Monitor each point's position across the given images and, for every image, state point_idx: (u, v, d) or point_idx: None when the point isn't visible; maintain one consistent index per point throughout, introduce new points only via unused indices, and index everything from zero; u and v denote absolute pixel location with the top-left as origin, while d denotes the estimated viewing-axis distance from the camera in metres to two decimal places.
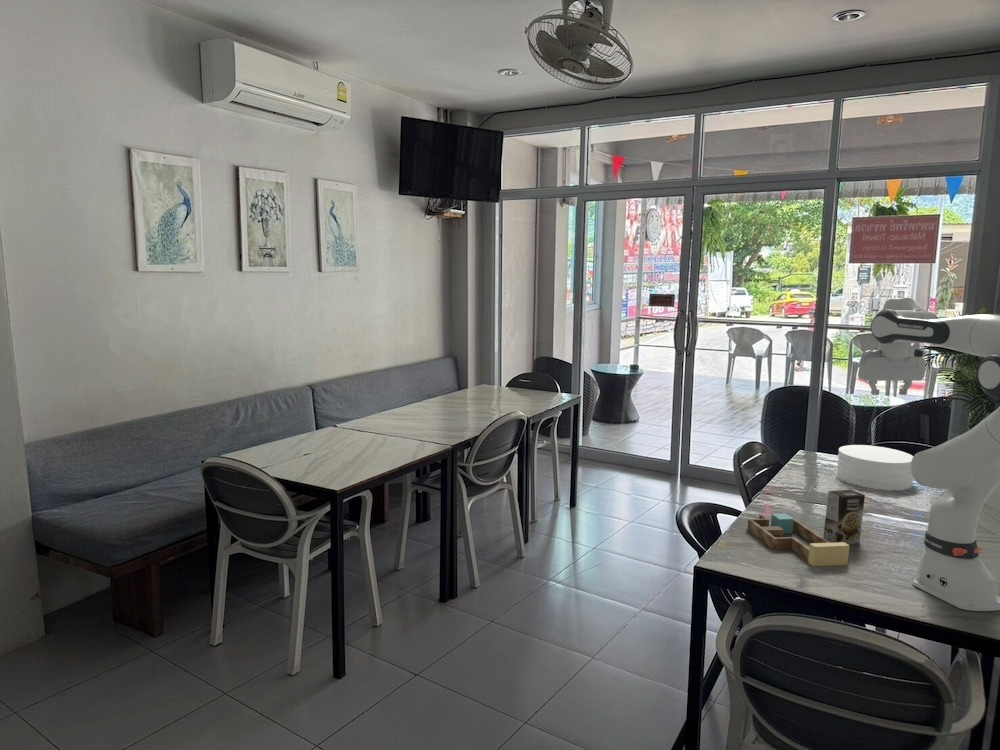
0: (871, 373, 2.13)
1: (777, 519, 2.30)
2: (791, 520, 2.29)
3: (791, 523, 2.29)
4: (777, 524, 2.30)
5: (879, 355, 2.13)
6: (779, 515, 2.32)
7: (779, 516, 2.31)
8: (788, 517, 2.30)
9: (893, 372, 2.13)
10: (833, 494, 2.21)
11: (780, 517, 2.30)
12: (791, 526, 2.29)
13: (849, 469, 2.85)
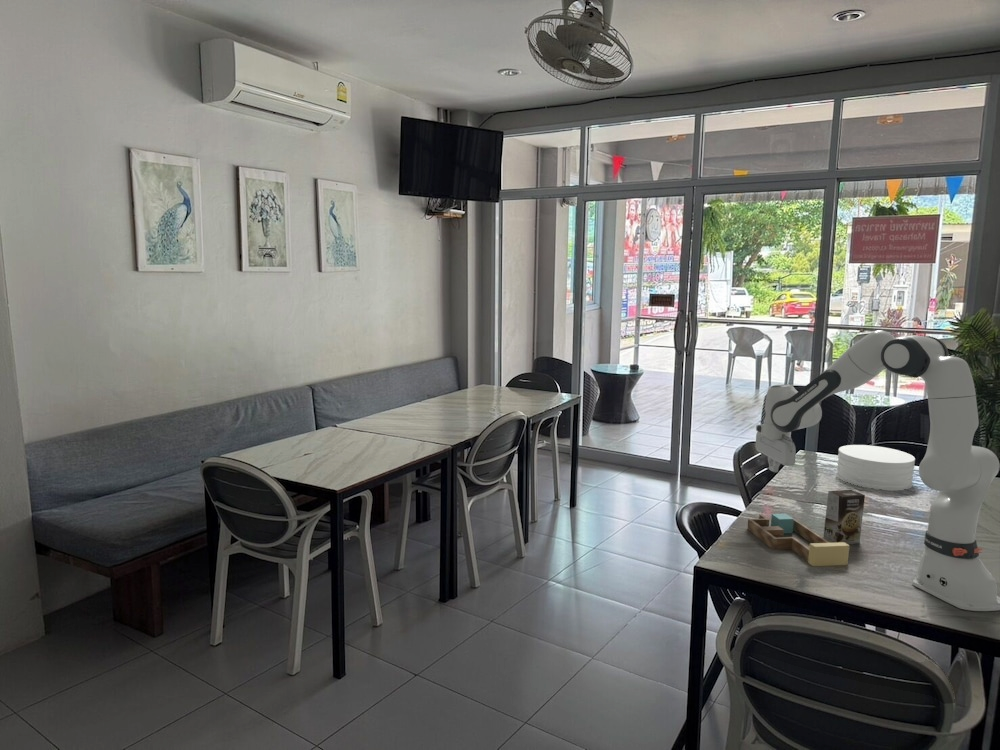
0: None
1: (777, 519, 2.30)
2: (791, 520, 2.29)
3: (791, 523, 2.29)
4: (777, 524, 2.30)
5: None
6: (779, 515, 2.32)
7: (779, 516, 2.31)
8: (788, 517, 2.30)
9: None
10: (833, 494, 2.21)
11: (780, 517, 2.30)
12: (791, 526, 2.29)
13: (849, 469, 2.85)
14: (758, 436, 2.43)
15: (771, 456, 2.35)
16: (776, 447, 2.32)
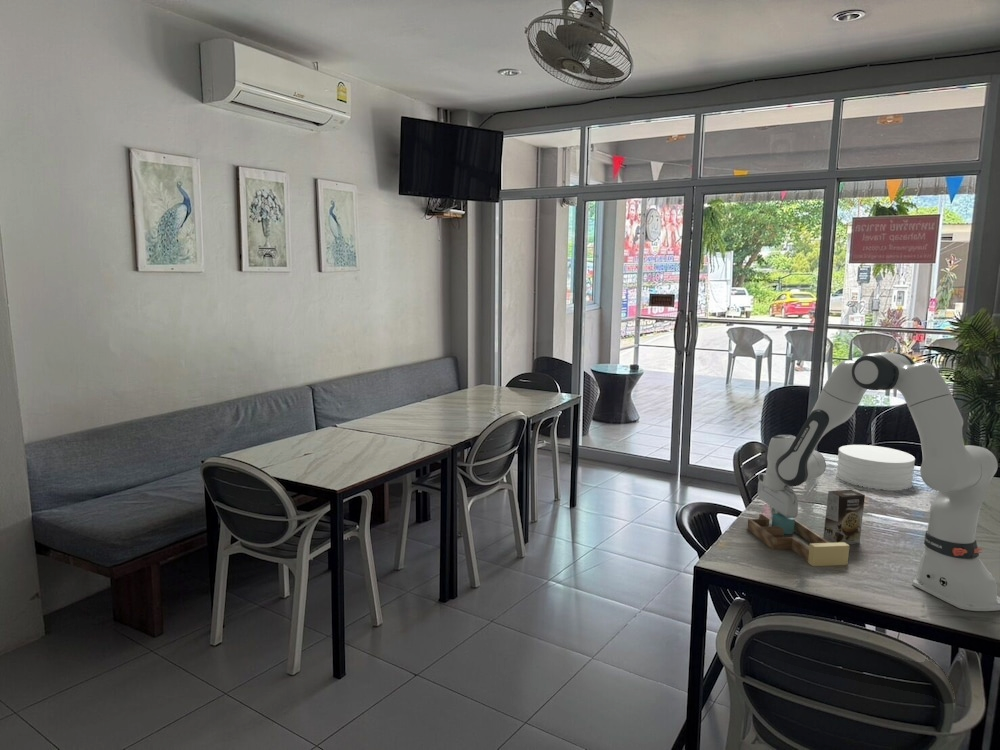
0: None
1: (778, 519, 2.29)
2: (792, 520, 2.28)
3: (792, 523, 2.28)
4: (778, 524, 2.29)
5: None
6: (780, 515, 2.31)
7: (780, 516, 2.31)
8: None
9: None
10: (833, 494, 2.21)
11: (781, 518, 2.29)
12: (792, 526, 2.29)
13: (849, 469, 2.85)
14: (760, 484, 2.42)
15: (773, 506, 2.34)
16: (778, 497, 2.31)
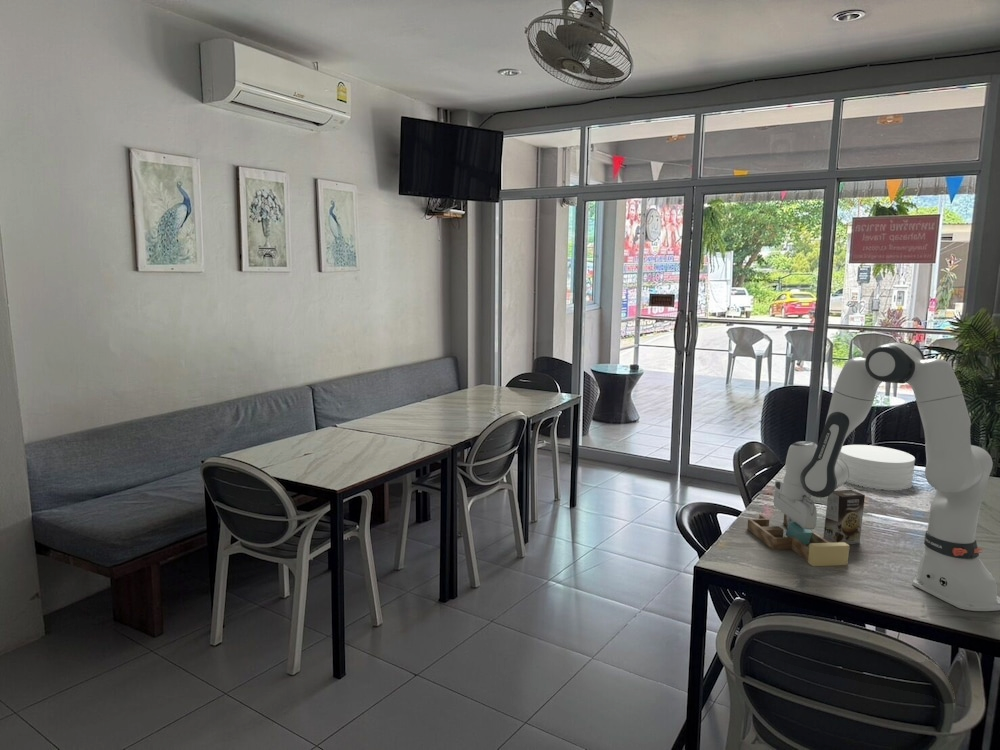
0: None
1: (795, 531, 2.18)
2: (809, 533, 2.18)
3: (809, 536, 2.18)
4: (794, 536, 2.19)
5: None
6: (797, 525, 2.20)
7: (797, 526, 2.20)
8: (807, 529, 2.19)
9: None
10: (833, 494, 2.21)
11: (798, 530, 2.18)
12: (808, 539, 2.19)
13: (849, 469, 2.85)
14: (776, 492, 2.30)
15: (790, 516, 2.23)
16: (795, 507, 2.20)
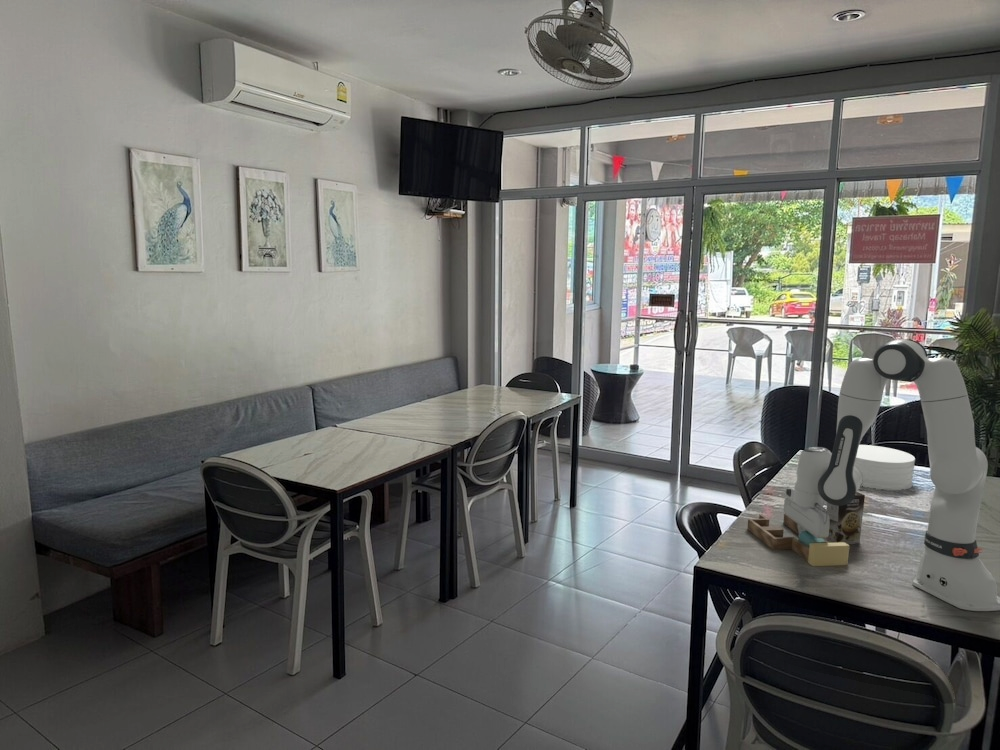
0: None
1: (807, 541, 2.11)
2: None
3: None
4: (806, 545, 2.12)
5: None
6: (809, 534, 2.13)
7: (809, 535, 2.13)
8: (819, 538, 2.12)
9: None
10: None
11: (810, 539, 2.11)
12: None
13: None
14: (787, 500, 2.23)
15: (801, 524, 2.16)
16: (807, 515, 2.13)
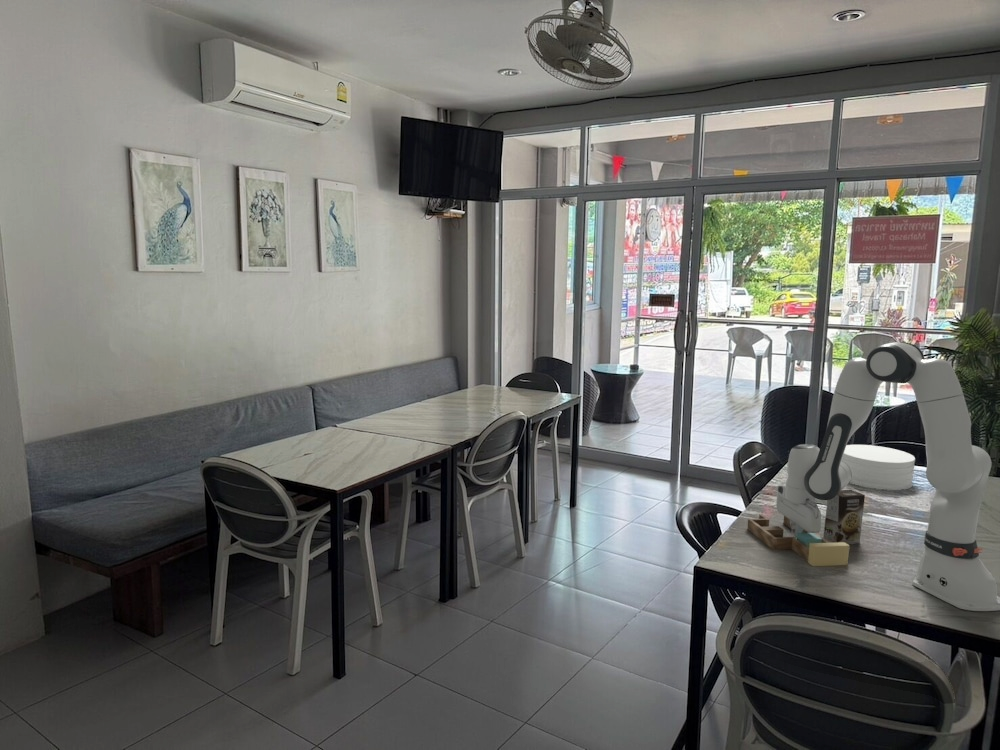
0: None
1: (804, 539, 2.13)
2: (819, 540, 2.12)
3: None
4: None
5: None
6: (805, 535, 2.15)
7: (805, 535, 2.15)
8: (815, 537, 2.14)
9: None
10: None
11: (807, 537, 2.13)
12: None
13: None
14: (779, 497, 2.28)
15: (794, 521, 2.21)
16: (799, 511, 2.18)
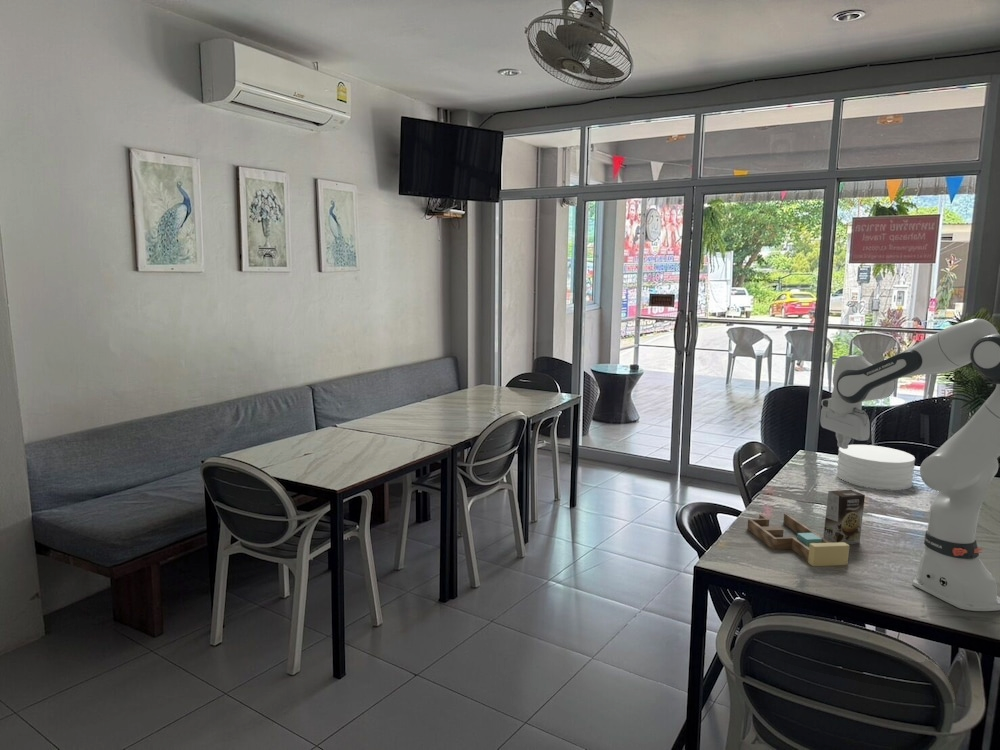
0: None
1: (804, 539, 2.13)
2: (819, 540, 2.12)
3: None
4: None
5: None
6: (805, 535, 2.15)
7: (805, 535, 2.15)
8: (815, 537, 2.14)
9: None
10: (833, 494, 2.21)
11: (807, 537, 2.13)
12: None
13: (849, 469, 2.85)
14: (823, 412, 2.29)
15: (840, 432, 2.21)
16: (846, 421, 2.18)
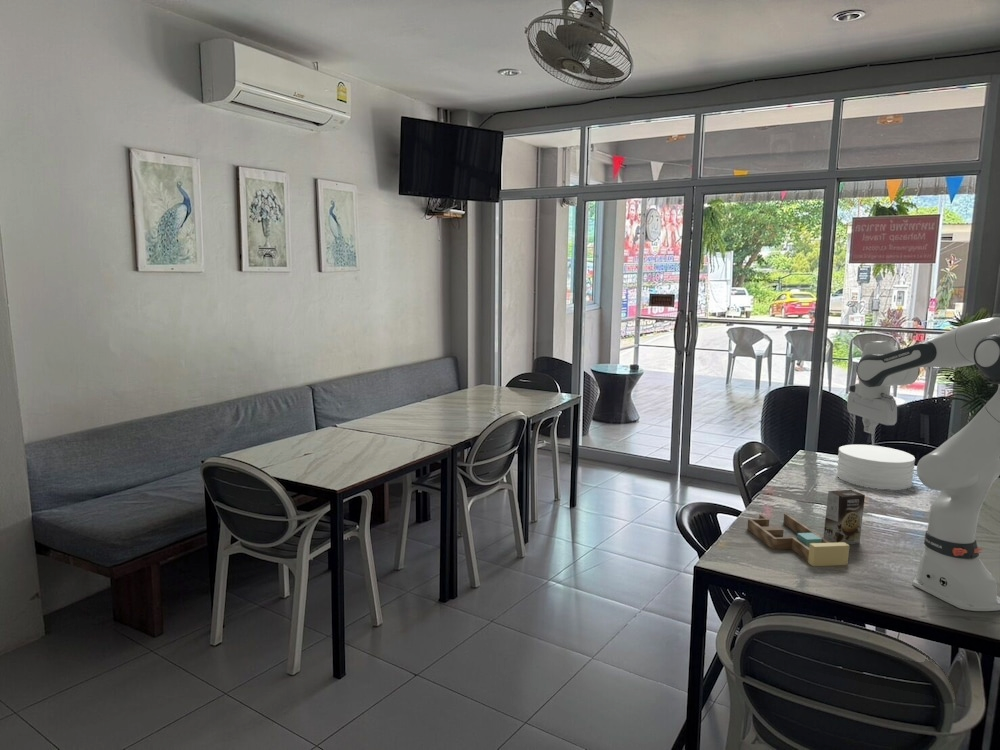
0: None
1: (804, 539, 2.13)
2: (819, 540, 2.12)
3: None
4: None
5: None
6: (805, 535, 2.15)
7: (805, 535, 2.15)
8: (815, 537, 2.14)
9: None
10: (833, 494, 2.21)
11: (807, 537, 2.13)
12: None
13: (849, 468, 2.85)
14: (850, 397, 2.32)
15: (867, 417, 2.24)
16: (873, 406, 2.21)
